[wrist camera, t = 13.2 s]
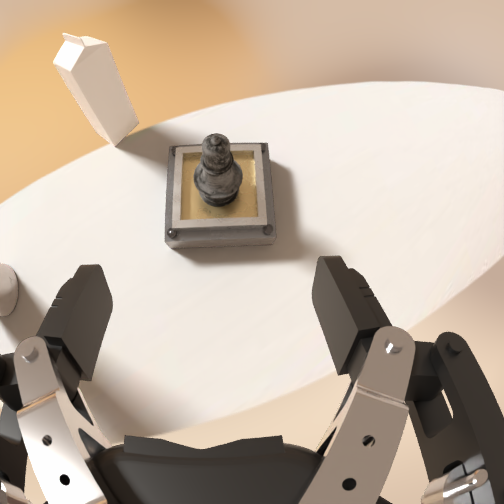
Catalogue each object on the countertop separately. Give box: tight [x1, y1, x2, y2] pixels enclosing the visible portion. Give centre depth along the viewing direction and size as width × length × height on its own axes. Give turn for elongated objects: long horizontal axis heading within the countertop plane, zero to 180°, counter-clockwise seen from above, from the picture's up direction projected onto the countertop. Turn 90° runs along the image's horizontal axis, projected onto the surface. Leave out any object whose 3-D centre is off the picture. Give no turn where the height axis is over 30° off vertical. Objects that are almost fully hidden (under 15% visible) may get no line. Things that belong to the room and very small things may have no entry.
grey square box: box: [165, 143, 276, 249], centre depth 38 cm, size 14×14×6 cm
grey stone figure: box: [193, 133, 243, 207], centre depth 30 cm, size 6×6×12 cm
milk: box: [53, 33, 139, 146], centre depth 31 cm, size 6×6×22 cm
